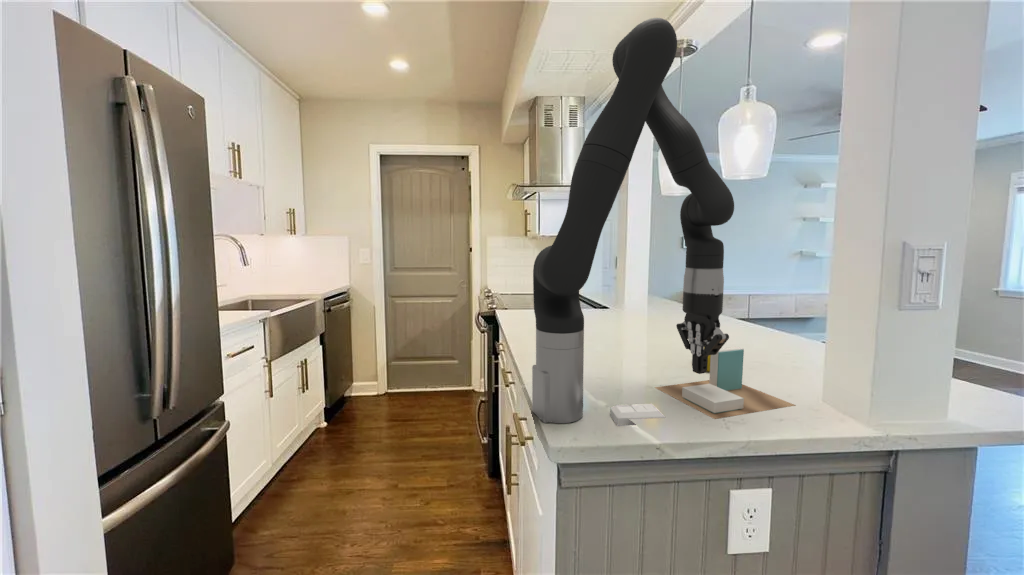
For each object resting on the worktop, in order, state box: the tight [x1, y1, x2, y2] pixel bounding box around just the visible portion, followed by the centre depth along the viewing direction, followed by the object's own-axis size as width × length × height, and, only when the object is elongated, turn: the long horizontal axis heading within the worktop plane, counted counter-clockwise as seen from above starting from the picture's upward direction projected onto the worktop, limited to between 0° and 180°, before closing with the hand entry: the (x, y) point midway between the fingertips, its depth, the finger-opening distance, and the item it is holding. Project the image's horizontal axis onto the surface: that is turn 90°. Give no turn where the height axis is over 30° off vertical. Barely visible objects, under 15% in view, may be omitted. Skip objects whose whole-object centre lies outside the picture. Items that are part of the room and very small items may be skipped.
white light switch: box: [609, 403, 666, 427], centre depth 84 cm, size 5×9×3 cm, turn 94°
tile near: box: [682, 384, 744, 414], centre depth 88 cm, size 7×2×9 cm
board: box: [654, 379, 796, 420], centre depth 93 cm, size 20×18×1 cm
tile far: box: [708, 346, 745, 391], centre depth 96 cm, size 7×2×9 cm, turn 108°
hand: (699, 372), depth 91 cm, fingers closed
